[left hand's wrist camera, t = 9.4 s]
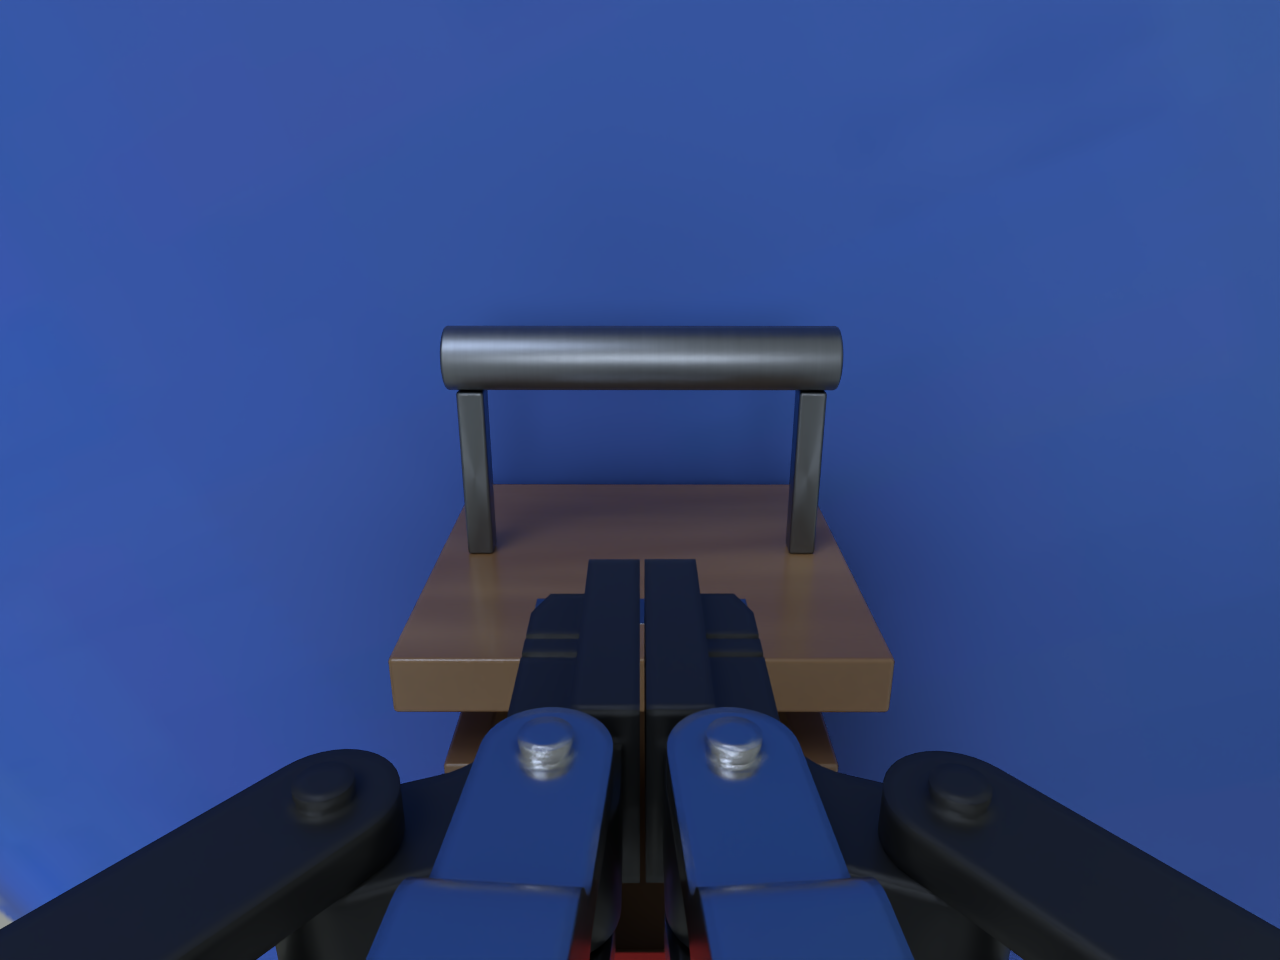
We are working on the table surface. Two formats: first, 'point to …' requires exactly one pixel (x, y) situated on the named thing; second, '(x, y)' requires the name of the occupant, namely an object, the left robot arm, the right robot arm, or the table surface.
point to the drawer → (640, 541)
